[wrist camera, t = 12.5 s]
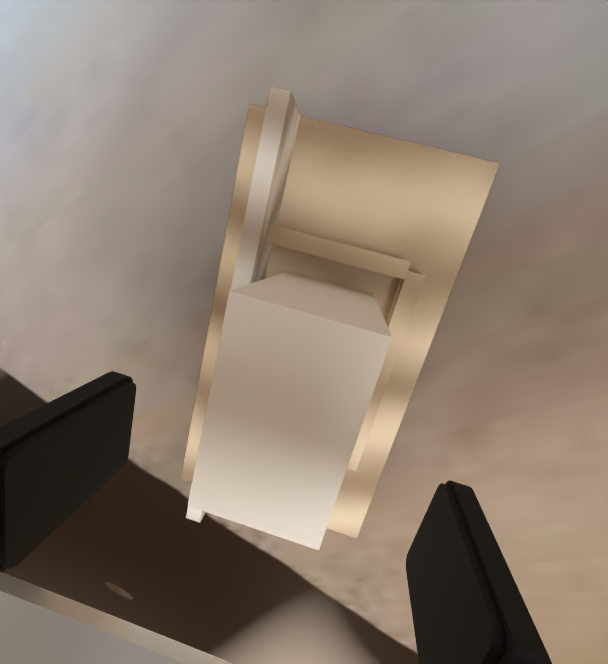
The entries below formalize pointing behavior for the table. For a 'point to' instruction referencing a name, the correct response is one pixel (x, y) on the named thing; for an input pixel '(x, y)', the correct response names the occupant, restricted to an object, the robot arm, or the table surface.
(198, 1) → the table surface
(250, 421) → the carton
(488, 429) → the table surface
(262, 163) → the beige compartment tray
